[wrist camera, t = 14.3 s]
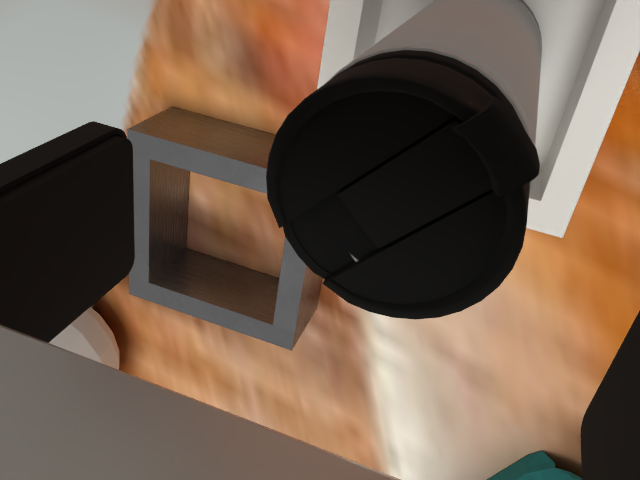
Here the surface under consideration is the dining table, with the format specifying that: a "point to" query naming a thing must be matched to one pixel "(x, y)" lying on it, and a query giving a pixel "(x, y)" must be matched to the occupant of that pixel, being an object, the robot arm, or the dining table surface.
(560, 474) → the power drill
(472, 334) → the dining table surface
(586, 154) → the light grey square tray
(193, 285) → the socket block
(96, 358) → the cup
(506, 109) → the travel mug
